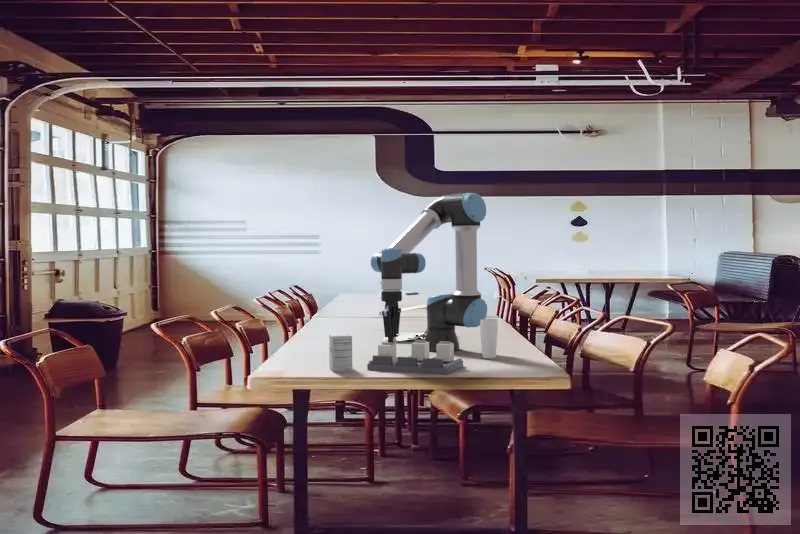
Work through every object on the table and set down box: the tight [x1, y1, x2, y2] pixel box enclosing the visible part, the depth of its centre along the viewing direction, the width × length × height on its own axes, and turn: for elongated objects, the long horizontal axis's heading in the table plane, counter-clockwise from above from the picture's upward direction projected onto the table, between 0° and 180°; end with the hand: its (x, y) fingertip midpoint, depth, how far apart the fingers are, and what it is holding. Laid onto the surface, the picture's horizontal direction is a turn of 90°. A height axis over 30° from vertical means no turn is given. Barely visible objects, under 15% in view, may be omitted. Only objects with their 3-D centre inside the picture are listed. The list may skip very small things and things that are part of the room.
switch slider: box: [435, 341, 455, 362], centre depth 271 cm, size 5×5×7 cm
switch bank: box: [366, 354, 464, 376], centre depth 270 cm, size 18×30×5 cm, turn 68°
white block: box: [377, 341, 397, 362], centre depth 270 cm, size 5×5×7 cm
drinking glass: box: [479, 318, 499, 360], centre depth 290 cm, size 7×7×15 cm
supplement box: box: [328, 332, 353, 373], centre depth 268 cm, size 7×7×13 cm
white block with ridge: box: [411, 339, 430, 360], centre depth 274 cm, size 5×5×7 cm
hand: (391, 354), depth 274 cm, fingers closed
